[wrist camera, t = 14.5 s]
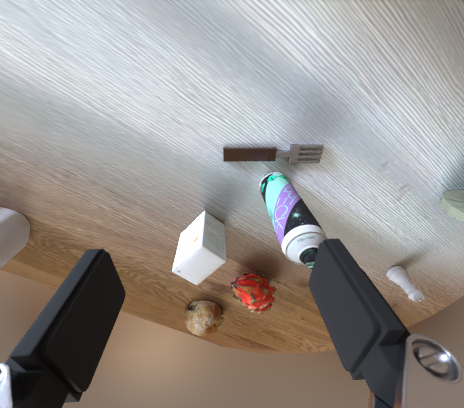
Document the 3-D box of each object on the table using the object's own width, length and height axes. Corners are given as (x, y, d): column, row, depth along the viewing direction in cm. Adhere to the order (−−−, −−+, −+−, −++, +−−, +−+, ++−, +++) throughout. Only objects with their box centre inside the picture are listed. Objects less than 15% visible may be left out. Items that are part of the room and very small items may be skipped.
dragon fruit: (268, 284, 57) (232, 263, 55) (289, 284, 50) (247, 260, 48) (258, 318, 53) (218, 296, 51) (279, 322, 46) (233, 298, 43)
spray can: (294, 181, 40) (350, 258, 23) (275, 202, 42) (313, 287, 25) (272, 165, 38) (316, 237, 21) (253, 188, 40) (279, 270, 23)
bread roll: (208, 285, 59) (195, 304, 51) (233, 313, 59) (224, 336, 51) (186, 303, 62) (171, 323, 55) (209, 329, 62) (198, 353, 55)
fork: (223, 162, 38) (223, 164, 37) (223, 144, 36) (223, 145, 35) (318, 162, 39) (320, 163, 38) (322, 144, 37) (324, 145, 36)
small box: (200, 246, 47) (196, 286, 38) (180, 233, 45) (170, 272, 36) (225, 224, 44) (227, 262, 35) (205, 209, 42) (201, 245, 33)
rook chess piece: (381, 275, 55) (404, 303, 49) (393, 263, 53) (419, 290, 46) (394, 278, 56) (419, 306, 49) (406, 266, 54) (434, 294, 47)
